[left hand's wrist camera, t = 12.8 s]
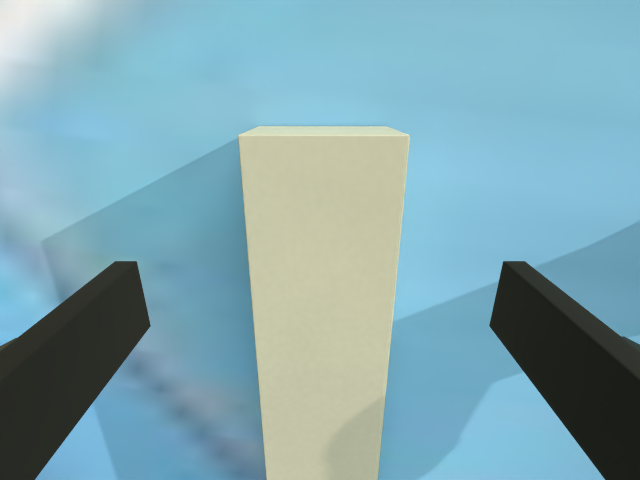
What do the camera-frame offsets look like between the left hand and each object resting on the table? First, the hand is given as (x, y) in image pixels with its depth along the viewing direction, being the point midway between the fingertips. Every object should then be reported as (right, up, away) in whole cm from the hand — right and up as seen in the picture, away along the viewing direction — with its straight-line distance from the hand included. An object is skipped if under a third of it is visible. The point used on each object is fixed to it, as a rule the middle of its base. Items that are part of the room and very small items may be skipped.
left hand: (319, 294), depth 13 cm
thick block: (0, -19, +26) cm, 33 cm away
